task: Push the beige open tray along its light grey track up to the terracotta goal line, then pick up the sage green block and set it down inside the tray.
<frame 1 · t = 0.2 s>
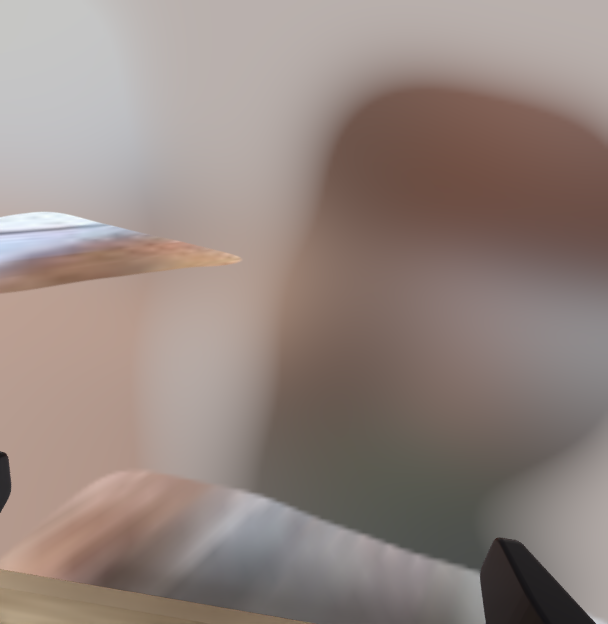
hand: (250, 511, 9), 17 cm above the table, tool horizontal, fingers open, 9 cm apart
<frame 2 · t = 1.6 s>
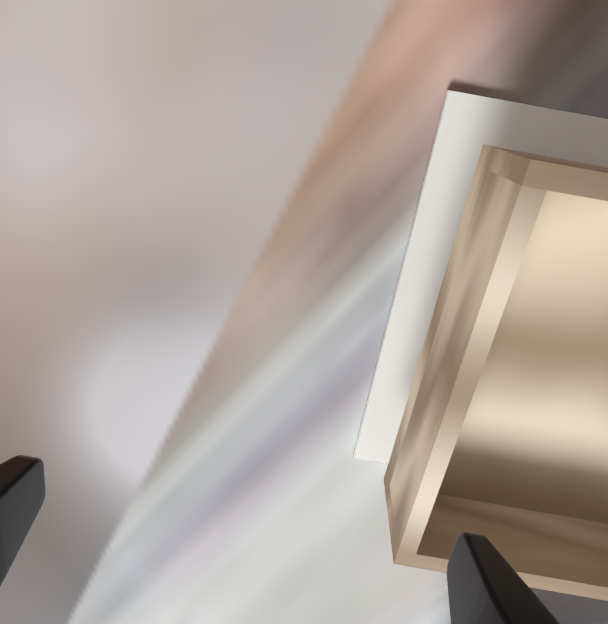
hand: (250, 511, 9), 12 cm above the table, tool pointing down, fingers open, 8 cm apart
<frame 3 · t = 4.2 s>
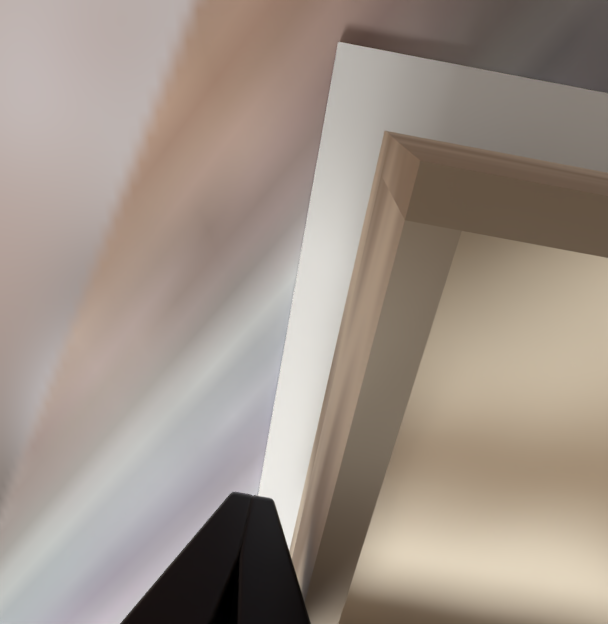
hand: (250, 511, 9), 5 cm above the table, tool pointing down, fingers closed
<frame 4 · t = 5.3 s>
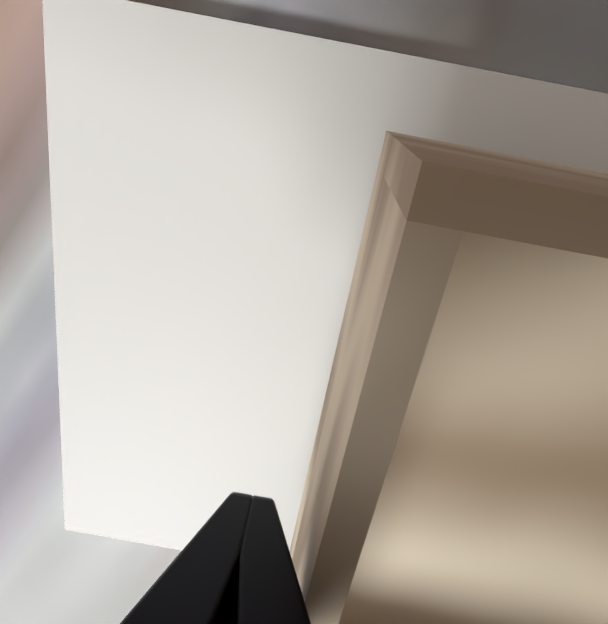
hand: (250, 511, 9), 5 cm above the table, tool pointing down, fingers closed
track board: (581, 414, 14), on the table
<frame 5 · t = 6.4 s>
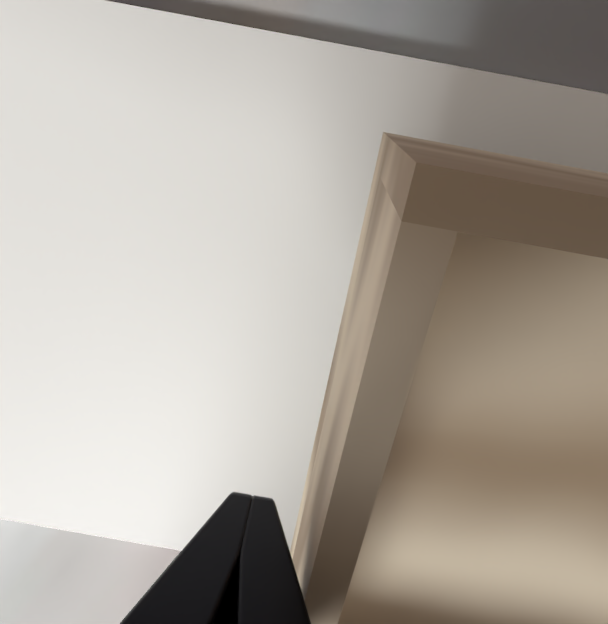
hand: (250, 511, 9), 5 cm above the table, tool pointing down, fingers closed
track board: (444, 389, 14), on the table
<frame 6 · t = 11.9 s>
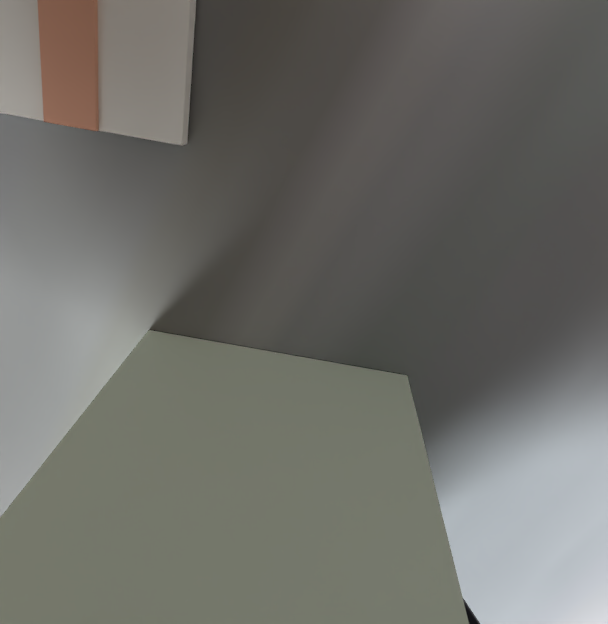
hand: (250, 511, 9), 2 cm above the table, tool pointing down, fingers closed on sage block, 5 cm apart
sage block: (261, 454, 10), on the table, touching gripper
when the fingers open (7 cm above the table, at t = 16.9 s): sage block drops 1 cm, resting on beige open tray.
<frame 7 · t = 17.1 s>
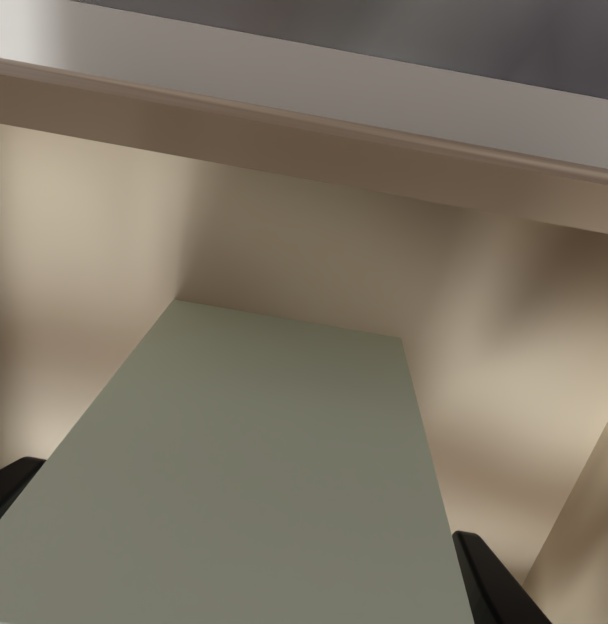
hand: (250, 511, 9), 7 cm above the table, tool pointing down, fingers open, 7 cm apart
beige open tray: (276, 409, 12), point 4 cm above the table, slide at 10.6 cm, touching sage block
sage block: (272, 412, 12), point 4 cm above the table, touching beige open tray
track board: (144, 311, 15), on the table
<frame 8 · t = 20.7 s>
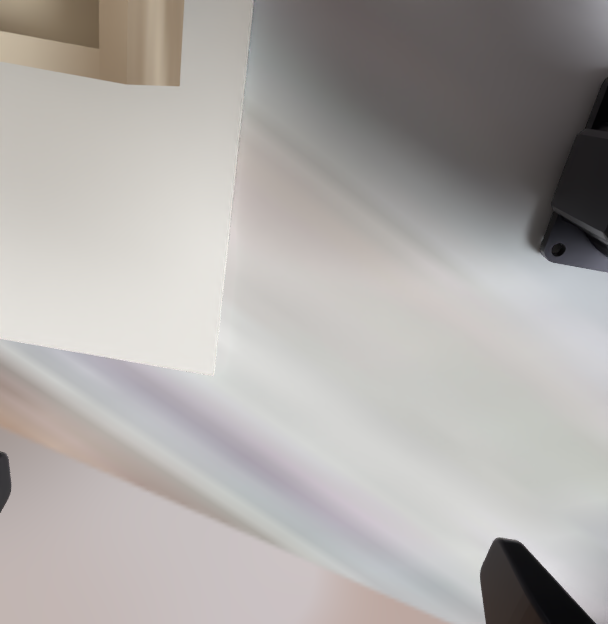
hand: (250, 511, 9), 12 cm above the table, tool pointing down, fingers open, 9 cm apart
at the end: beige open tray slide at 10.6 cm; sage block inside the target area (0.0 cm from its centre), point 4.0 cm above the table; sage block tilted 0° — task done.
